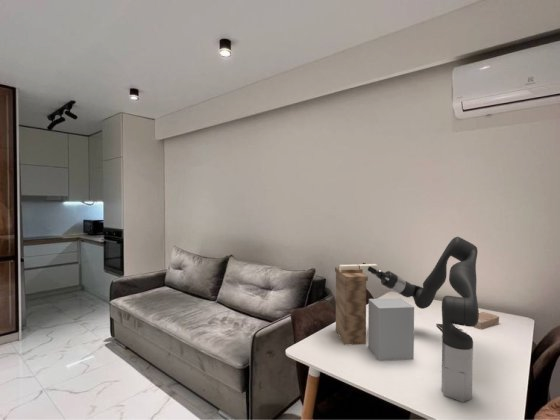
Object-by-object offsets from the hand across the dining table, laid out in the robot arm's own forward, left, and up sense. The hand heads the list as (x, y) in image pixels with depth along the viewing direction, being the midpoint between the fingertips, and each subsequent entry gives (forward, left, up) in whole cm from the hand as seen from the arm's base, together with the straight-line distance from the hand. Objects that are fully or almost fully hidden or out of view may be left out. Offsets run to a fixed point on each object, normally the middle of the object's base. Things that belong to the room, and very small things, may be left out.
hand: (365, 266), depth 151 cm
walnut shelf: (-5, +5, -34) cm, 35 cm away
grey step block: (-9, -16, -34) cm, 39 cm away
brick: (+54, -41, -35) cm, 76 cm away
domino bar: (-3, +3, -2) cm, 4 cm away
